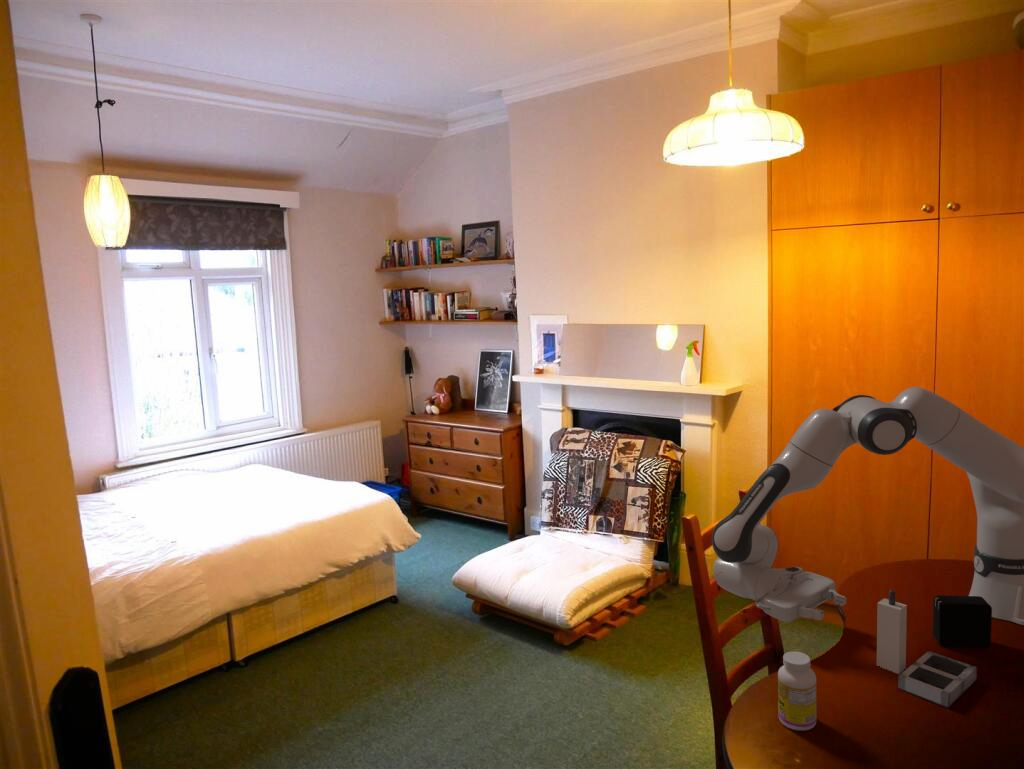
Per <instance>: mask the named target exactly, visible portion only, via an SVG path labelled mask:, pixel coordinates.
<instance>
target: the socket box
mask: <svg viewBox="0 0 1024 769" xmlns="http://www.w3.org/2000/svg"><path fill="white" fill-rule="evenodd" d="M977 673H978V667H977V666H973V665H971V664H969V663H966V662H962V661H959V660H957V659H954V658H951V657H948V656H945V655H943V654H940V653H936V652H934V651H931V650H928V651H926V653H924V654H923V655H922V656H920V657H919V658H918V659H917V660H916V661H915V662H913V663H912V664H911V665H909V667H906V669H905V670H903V671H902V672H901V673H900V674H898V680H897V681H898V682H897V683H898V686H897V687H898V690H900V691H903V692H905V693H908V694H911V695H912V696H915V697H918V698H921V699H922V700H926V701H928V702H931V703H933V704H935V705H938V706H941V707H943V708H946V709H949V708H950V707H951V706H952V705H953V704H954V703H955V702H956V701H957V700H958V699H959V698H960V697H961V696H962V695H963V694H964V693H965V692H966V691H967V690H968V689H969V688H970V687H972V686H973V684H974V683H976V681H977V680H978V679H977V678H978V677H977V676H978V674H977Z"/></svg>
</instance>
